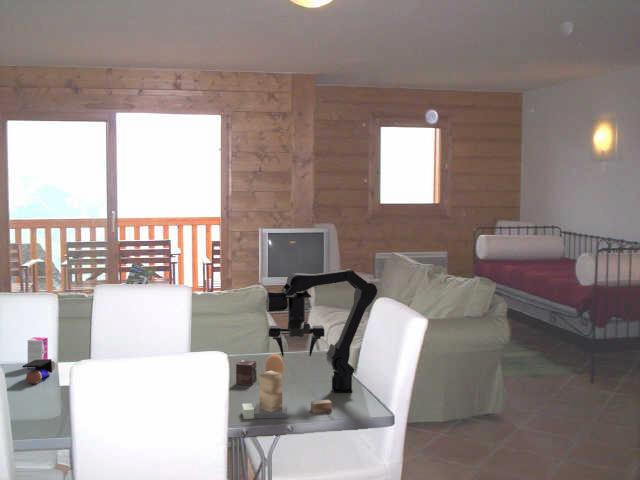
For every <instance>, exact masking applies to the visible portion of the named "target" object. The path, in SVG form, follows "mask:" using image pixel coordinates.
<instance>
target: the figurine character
mask: <svg viewBox="0 0 640 480" xmlns="http://www.w3.org/2000/svg"><path fill="white" fill-rule="evenodd" d="M28 367H35V370H29V372H27V374H26V375H25V377H26V382H27V383H29V384H30V385H36V384H38V383H40V382H41V380H42V379H43V378H45V377H46V378H48V377H50V376H51V373H53V371H55V369H56V363H55V361H54V360H52V359H51V358H49V359H40V360H34V361H32V362H29V363H28V362H27V363H26V364H24V365H22V368H28Z"/></svg>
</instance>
